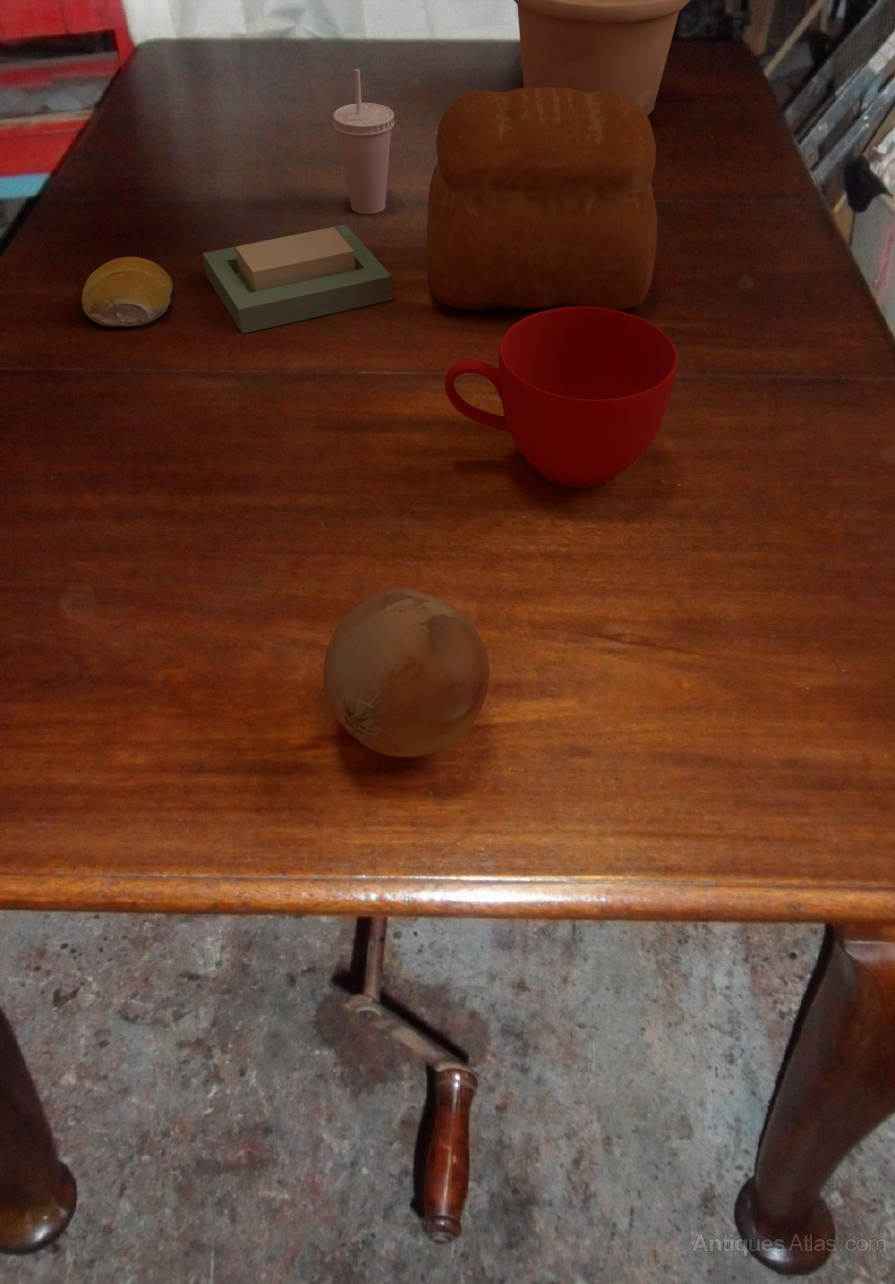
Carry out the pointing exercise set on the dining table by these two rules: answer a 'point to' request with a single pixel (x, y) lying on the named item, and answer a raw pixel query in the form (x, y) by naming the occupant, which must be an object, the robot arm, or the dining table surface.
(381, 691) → the mottled brown ball
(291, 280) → the cream pad
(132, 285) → the bread roll
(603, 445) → the ceramic cup
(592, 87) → the pottery
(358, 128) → the smoothie
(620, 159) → the bread
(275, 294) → the base pad
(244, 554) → the dining table surface
